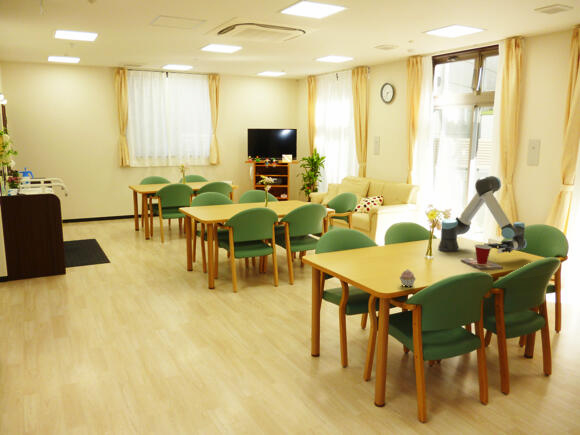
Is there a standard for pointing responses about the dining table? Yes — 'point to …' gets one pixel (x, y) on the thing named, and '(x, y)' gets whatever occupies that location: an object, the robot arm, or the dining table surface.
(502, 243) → the robot arm
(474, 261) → the book
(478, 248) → the plastic cup
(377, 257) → the dining table surface
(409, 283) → the cupcake
